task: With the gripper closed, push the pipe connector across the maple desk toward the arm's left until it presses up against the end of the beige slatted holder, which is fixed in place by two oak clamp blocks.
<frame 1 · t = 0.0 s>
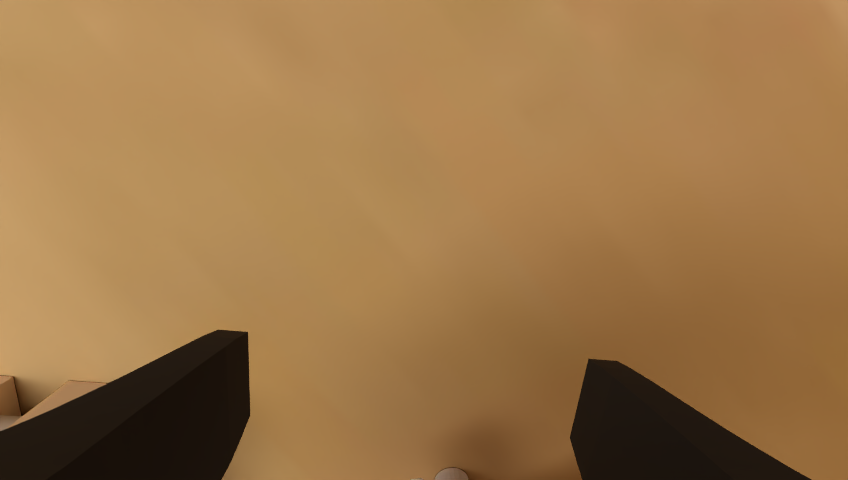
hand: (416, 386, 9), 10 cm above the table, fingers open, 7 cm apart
beige slatted holder: (161, 447, 22), on the table
pipe connector: (451, 478, 23), on the table
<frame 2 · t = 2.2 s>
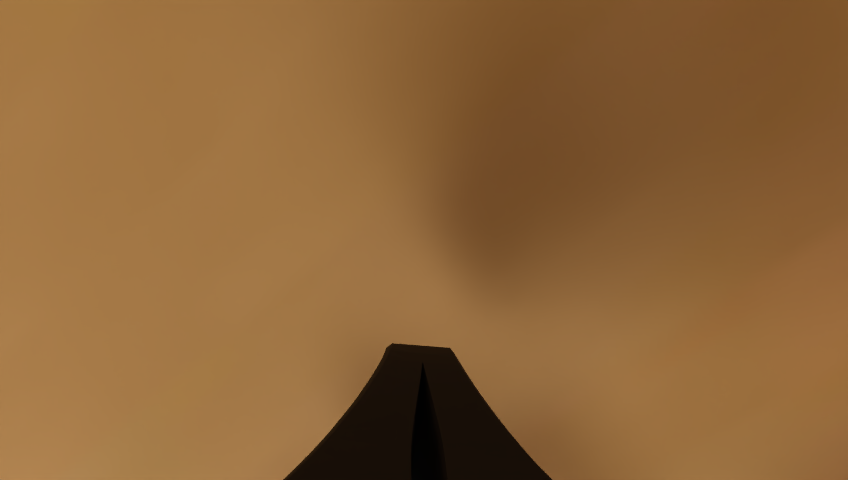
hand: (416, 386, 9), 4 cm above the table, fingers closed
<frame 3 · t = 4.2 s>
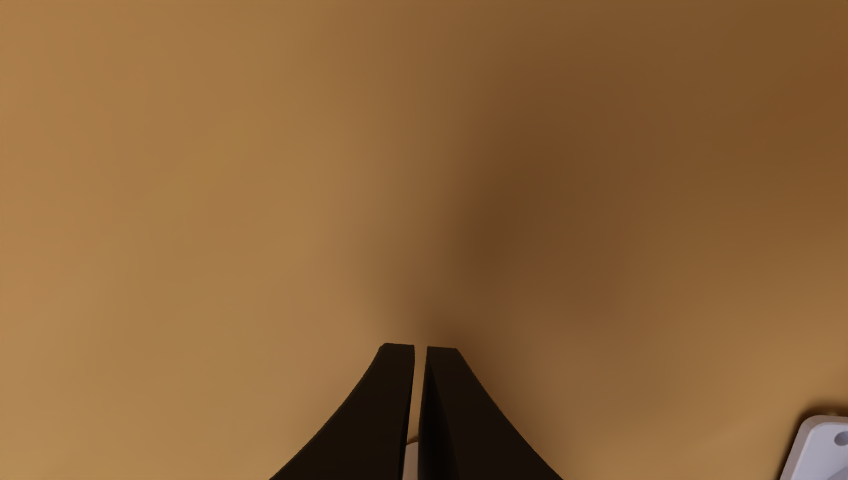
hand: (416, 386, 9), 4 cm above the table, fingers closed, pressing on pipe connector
pipe connector: (426, 456, 14), on the table, touching gripper
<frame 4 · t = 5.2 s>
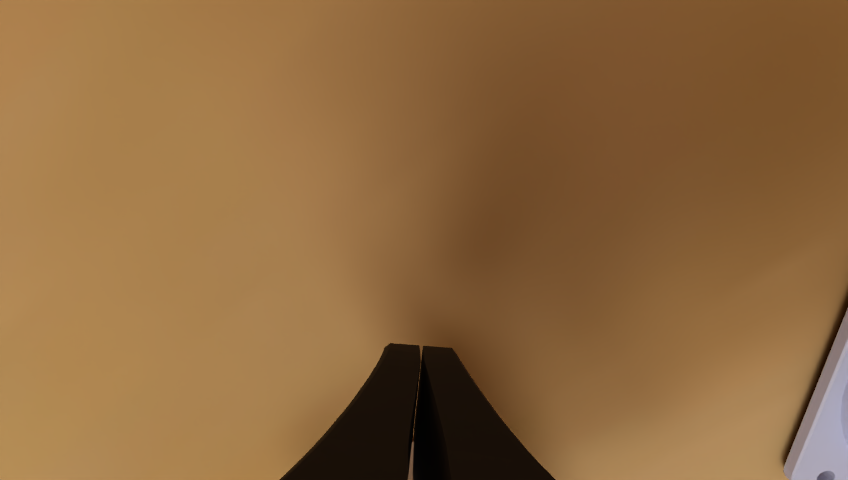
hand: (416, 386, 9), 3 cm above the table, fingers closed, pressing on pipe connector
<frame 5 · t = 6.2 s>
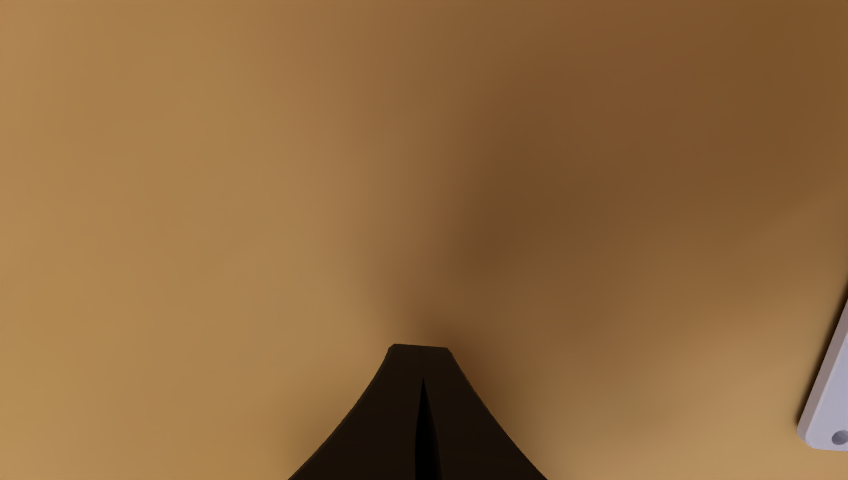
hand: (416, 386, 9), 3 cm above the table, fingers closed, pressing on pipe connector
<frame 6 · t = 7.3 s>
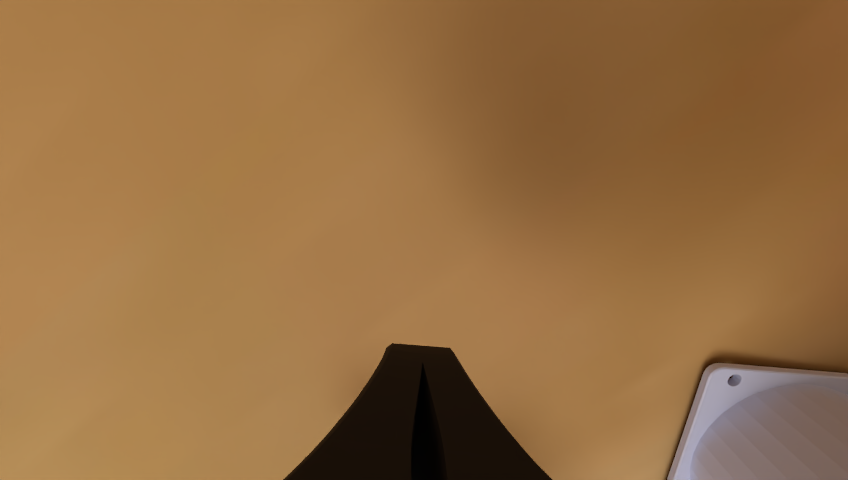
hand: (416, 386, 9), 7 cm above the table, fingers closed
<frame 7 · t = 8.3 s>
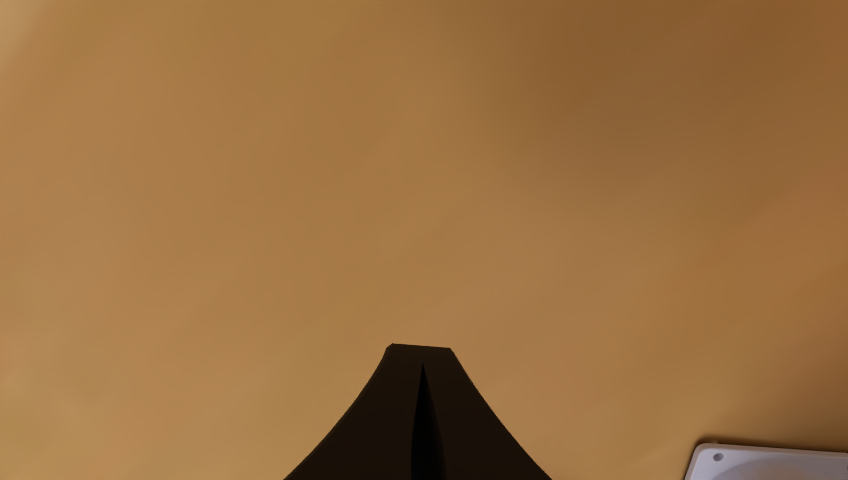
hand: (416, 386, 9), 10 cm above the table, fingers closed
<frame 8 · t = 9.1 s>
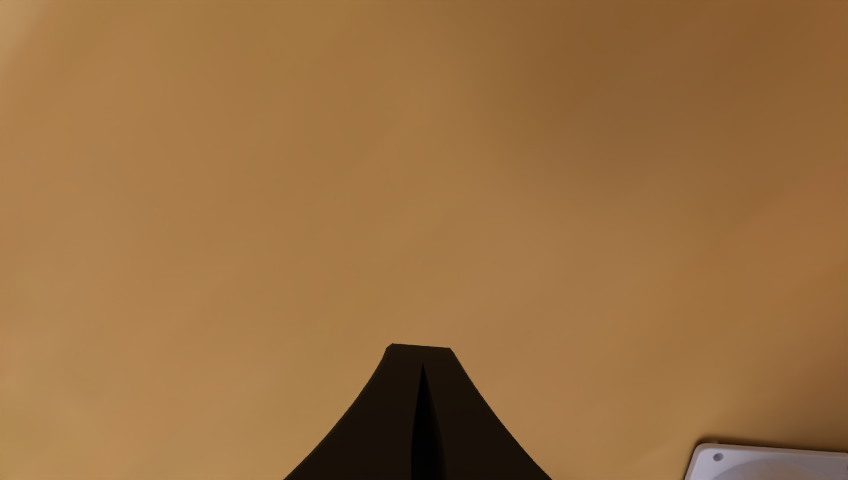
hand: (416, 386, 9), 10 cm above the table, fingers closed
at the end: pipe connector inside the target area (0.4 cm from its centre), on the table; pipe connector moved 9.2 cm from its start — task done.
